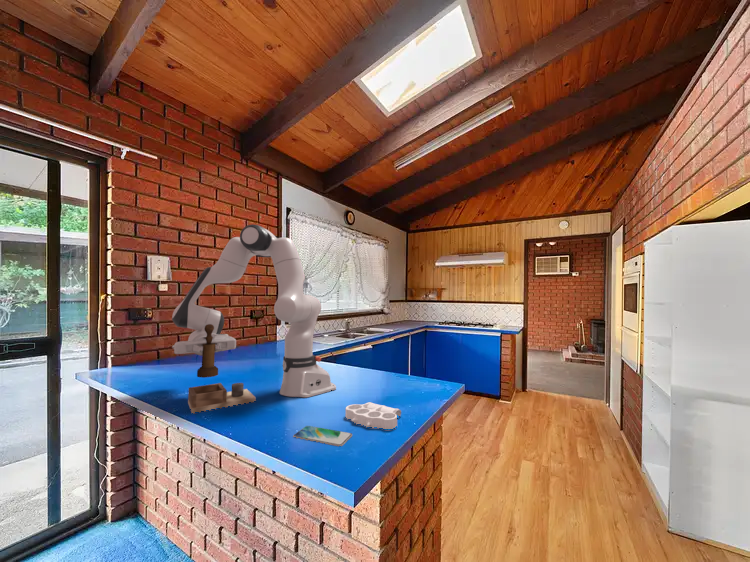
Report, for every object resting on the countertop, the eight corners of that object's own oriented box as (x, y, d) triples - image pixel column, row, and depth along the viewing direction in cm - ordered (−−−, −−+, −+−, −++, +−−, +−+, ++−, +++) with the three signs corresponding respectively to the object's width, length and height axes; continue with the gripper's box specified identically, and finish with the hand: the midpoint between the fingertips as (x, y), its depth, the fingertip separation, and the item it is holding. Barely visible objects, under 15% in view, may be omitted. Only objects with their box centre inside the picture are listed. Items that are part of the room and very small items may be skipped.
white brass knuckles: (410, 419, 97) (385, 436, 85) (364, 408, 108) (335, 422, 96) (410, 408, 98) (385, 424, 86) (364, 398, 108) (335, 410, 96)
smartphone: (341, 445, 79) (292, 435, 84) (341, 448, 79) (292, 439, 84) (353, 433, 86) (307, 424, 91) (353, 436, 86) (307, 428, 91)
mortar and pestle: (221, 373, 112) (223, 323, 113) (210, 378, 106) (212, 325, 107) (204, 372, 113) (206, 323, 114) (192, 377, 107) (194, 325, 108)
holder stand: (246, 392, 123) (246, 378, 123) (255, 401, 112) (255, 386, 113) (187, 402, 111) (188, 387, 111) (191, 413, 101) (192, 396, 101)
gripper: (172, 337, 115) (174, 342, 103) (231, 333, 127) (239, 337, 115) (171, 354, 114) (173, 361, 103) (231, 349, 126) (239, 354, 115)
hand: (209, 348), depth 109 cm, fingers closed on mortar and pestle, 4 cm apart
